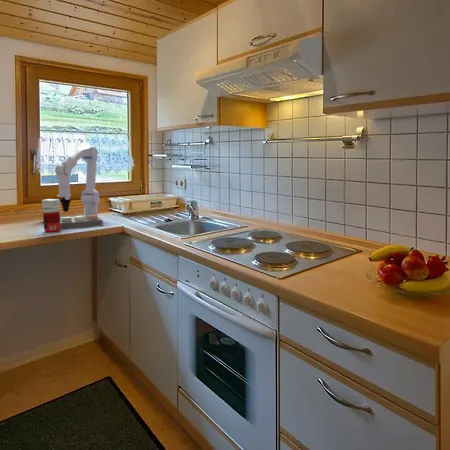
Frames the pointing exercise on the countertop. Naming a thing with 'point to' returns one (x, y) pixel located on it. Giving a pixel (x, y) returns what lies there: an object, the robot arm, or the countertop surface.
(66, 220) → the sage button
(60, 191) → the robot arm
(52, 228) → the canned food
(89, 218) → the terracotta button
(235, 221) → the countertop surface
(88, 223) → the console
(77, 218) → the cream button
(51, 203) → the white canister
